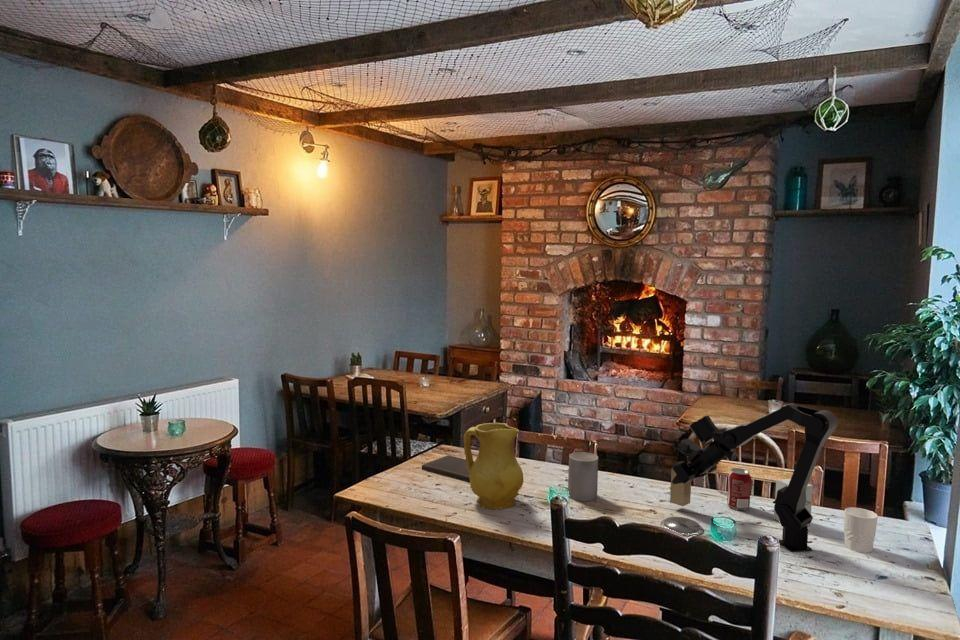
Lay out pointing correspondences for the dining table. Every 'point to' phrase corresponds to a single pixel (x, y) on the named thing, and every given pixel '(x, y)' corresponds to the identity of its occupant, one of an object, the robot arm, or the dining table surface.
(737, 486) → the soda can
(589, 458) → the pillar candle
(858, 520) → the white cup
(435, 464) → the hardcover book
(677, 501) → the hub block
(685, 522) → the plate
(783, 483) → the supplement box
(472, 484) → the pitcher
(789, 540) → the robot arm
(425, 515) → the dining table surface
